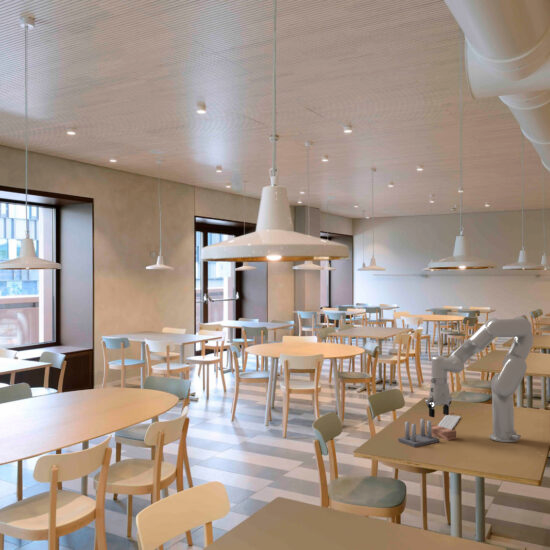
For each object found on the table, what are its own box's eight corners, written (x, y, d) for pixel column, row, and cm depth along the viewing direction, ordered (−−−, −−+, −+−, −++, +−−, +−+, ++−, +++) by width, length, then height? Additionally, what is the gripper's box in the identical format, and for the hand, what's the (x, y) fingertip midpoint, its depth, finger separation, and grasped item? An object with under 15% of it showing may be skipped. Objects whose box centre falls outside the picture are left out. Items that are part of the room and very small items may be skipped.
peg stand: (439, 441, 262) (438, 421, 262) (414, 447, 254) (413, 426, 254) (422, 436, 272) (422, 417, 272) (398, 441, 264) (397, 421, 264)
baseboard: (431, 430, 285) (451, 432, 280) (431, 424, 285) (451, 426, 280) (442, 416, 312) (460, 418, 307) (442, 411, 312) (460, 413, 307)
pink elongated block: (456, 439, 267) (456, 430, 267) (447, 441, 264) (447, 432, 264) (435, 432, 279) (434, 424, 279) (426, 434, 276) (426, 426, 276)
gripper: (432, 384, 265) (431, 419, 265) (457, 381, 273) (457, 415, 273) (420, 381, 271) (420, 415, 271) (446, 378, 280) (445, 412, 280)
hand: (438, 415), depth 272 cm, fingers open, 9 cm apart
